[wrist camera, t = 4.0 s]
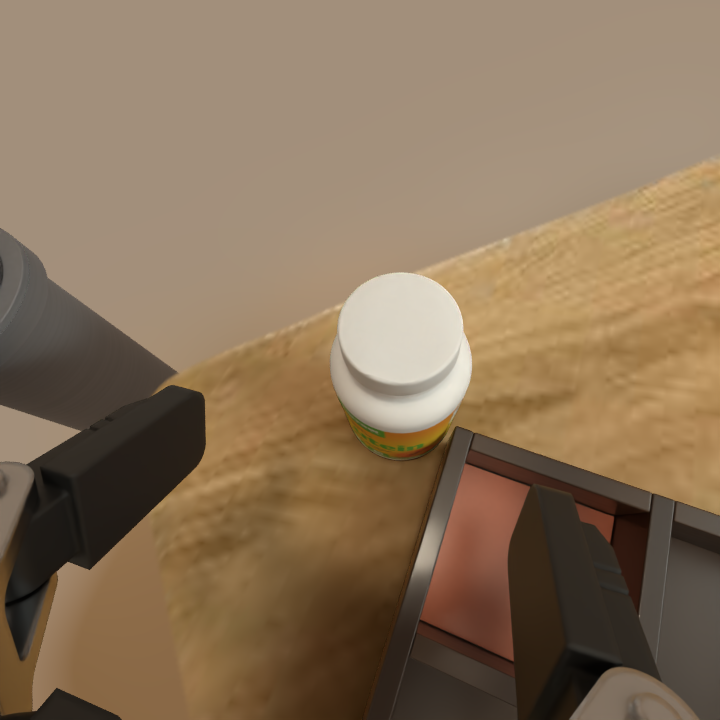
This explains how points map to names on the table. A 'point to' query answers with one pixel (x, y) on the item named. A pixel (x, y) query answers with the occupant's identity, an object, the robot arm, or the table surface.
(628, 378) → the table surface
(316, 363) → the table surface
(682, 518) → the grid
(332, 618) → the table surface
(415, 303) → the supplement bottle
